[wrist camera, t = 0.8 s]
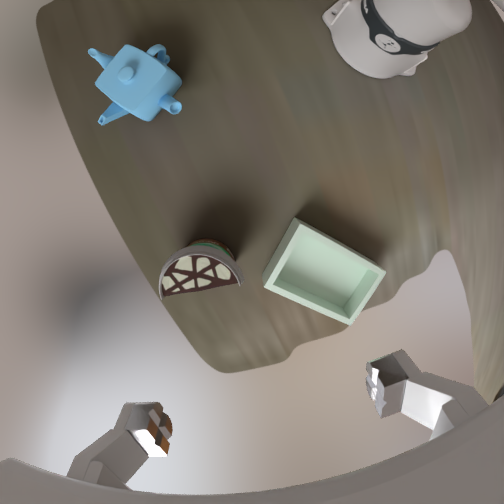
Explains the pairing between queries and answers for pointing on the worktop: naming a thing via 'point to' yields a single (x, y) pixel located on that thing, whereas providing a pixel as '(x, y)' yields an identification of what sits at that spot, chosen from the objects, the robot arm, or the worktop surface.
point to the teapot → (137, 83)
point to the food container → (199, 268)
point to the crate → (321, 273)
